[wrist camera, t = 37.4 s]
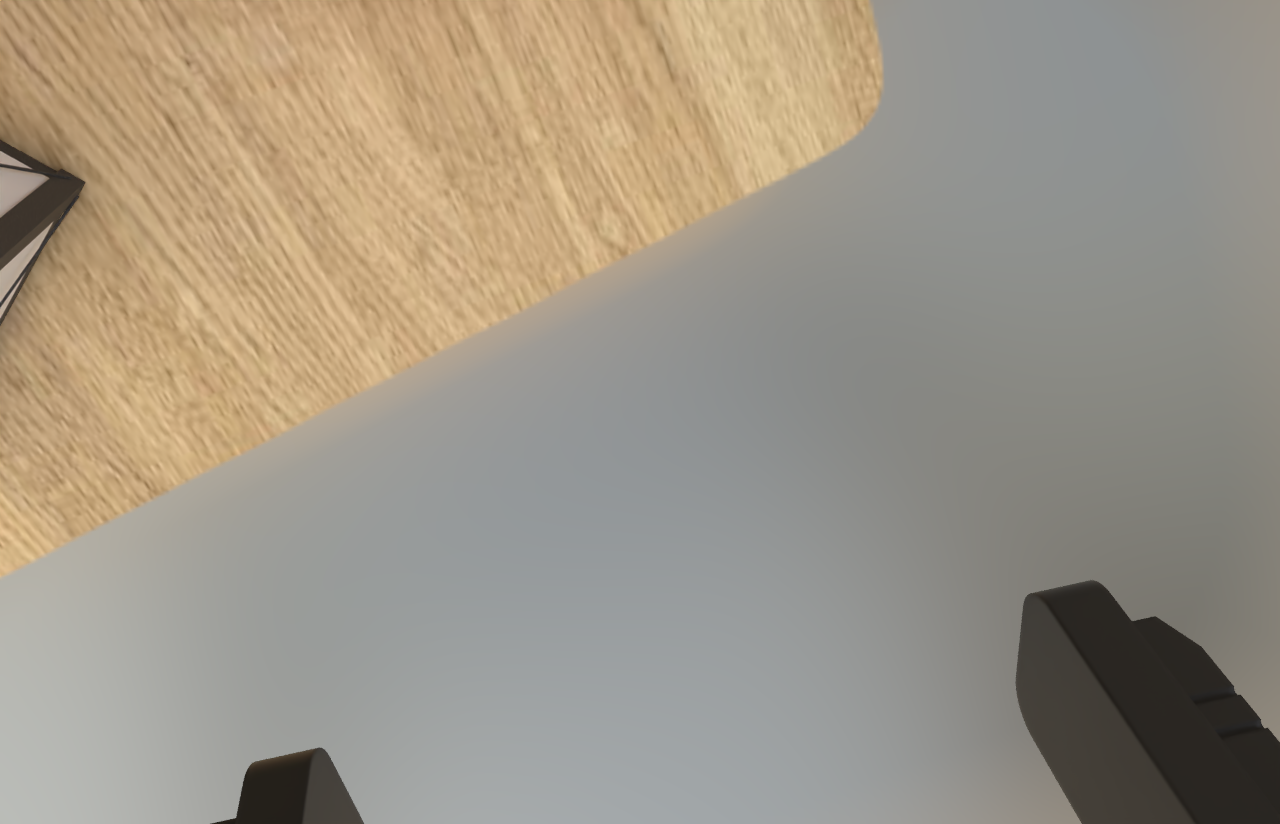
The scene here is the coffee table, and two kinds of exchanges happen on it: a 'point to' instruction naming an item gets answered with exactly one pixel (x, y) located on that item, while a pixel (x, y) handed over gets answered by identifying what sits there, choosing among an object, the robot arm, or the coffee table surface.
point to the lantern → (28, 215)
